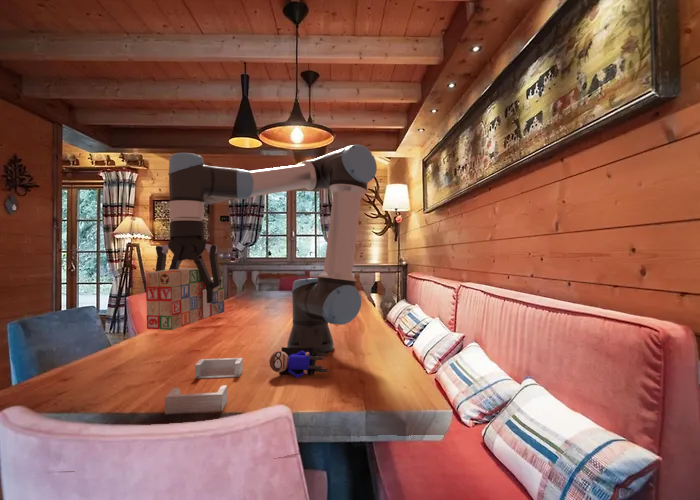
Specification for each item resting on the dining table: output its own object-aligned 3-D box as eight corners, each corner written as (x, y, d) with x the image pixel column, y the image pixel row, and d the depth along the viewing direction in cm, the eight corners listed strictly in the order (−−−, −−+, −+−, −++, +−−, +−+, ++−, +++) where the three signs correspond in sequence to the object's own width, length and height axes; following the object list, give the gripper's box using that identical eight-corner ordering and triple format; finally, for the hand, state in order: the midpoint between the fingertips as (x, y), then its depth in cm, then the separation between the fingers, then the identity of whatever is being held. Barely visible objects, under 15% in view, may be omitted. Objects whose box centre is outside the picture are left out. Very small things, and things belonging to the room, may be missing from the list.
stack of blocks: (203, 311, 102) (202, 265, 102) (224, 312, 101) (224, 265, 101) (146, 329, 81) (145, 271, 81) (172, 330, 80) (171, 271, 80)
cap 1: (165, 414, 76) (164, 397, 76) (173, 404, 81) (173, 387, 81) (222, 411, 77) (221, 394, 77) (227, 401, 82) (227, 385, 82)
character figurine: (325, 382, 95) (267, 380, 97) (330, 371, 102) (276, 369, 104) (324, 351, 94) (266, 350, 97) (330, 342, 102) (275, 341, 104)
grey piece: (242, 370, 103) (242, 357, 103) (239, 377, 98) (239, 363, 98) (200, 372, 102) (200, 359, 102) (195, 378, 97) (195, 365, 97)
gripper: (234, 221, 95) (235, 313, 96) (149, 221, 93) (150, 315, 94) (227, 219, 88) (229, 319, 88) (134, 219, 86) (136, 321, 86)
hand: (188, 317), depth 91 cm, fingers closed on stack of blocks, 7 cm apart
